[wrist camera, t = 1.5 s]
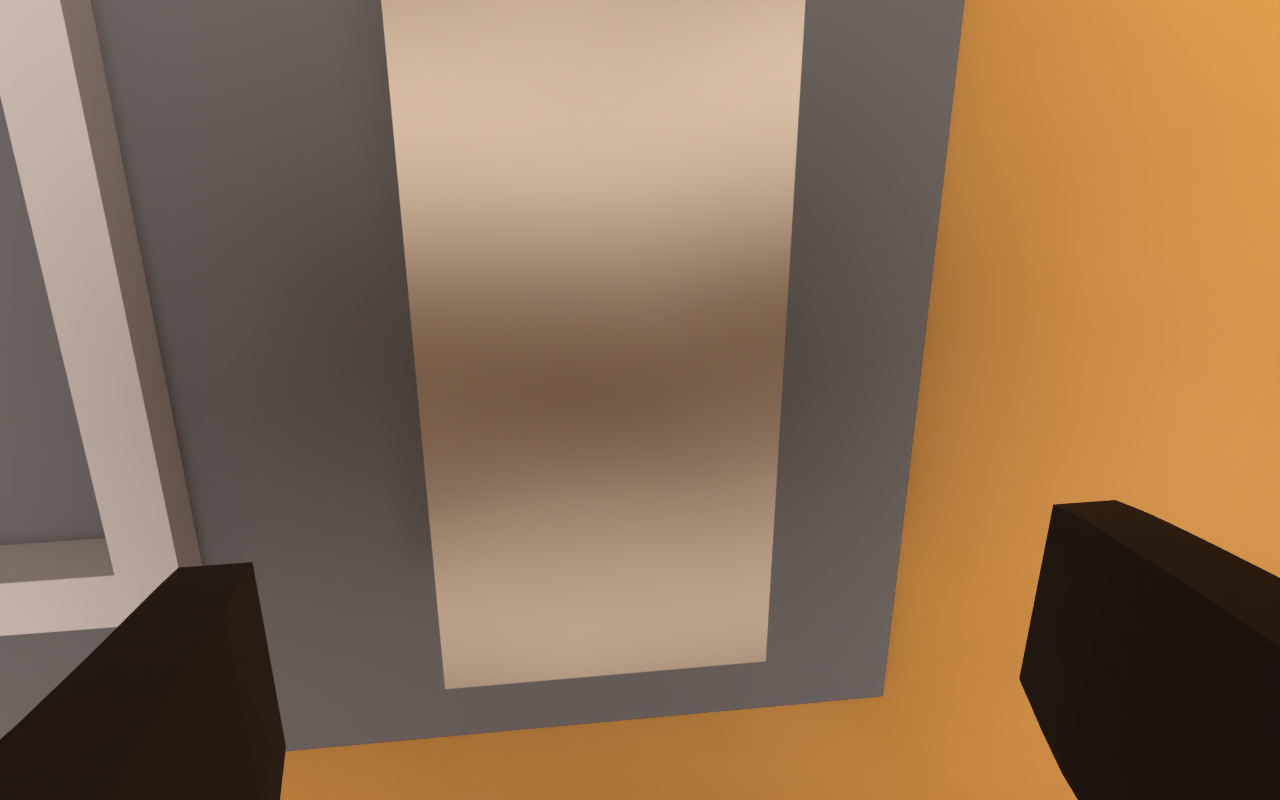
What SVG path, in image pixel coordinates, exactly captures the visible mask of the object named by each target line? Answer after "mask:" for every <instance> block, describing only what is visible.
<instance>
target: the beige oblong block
mask: <svg viewBox="0 0 1280 800" xmlns="http://www.w3.org/2000/svg"><path fill="white" fill-rule="evenodd" d="M805 1H806V0H381V4H382V15H383V26H384V36H385V47H386V58H387V69H388V80H389V90H390V101H391V112H392V123H393V133H394V144H395V155H396V166H397V177H398V187H399V198H400V209H401V220H402V230H403V241H404V252H405V263H406V274H407V284H408V295H409V306H410V317H411V327H412V338H413V349H414V360H415V370H416V381H417V392H418V403H419V414H420V424H421V435H422V446H423V457H424V467H425V478H426V489H427V500H428V511H429V521H430V532H431V543H432V554H433V564H434V575H435V586H436V597H437V608H438V618H439V629H440V640H441V651H442V661H443V672H444V683H445V689H454V688H466V687H477V686H489V685H500V684H511V683H523V682H534V681H546V680H557V679H569V678H580V677H592V676H603V675H615V674H626V673H638V672H649V671H661V670H672V669H684V668H695V667H707V666H718V665H730V664H741V663H753V662H764V661H766V648H767V632H768V615H769V598H770V582H771V565H772V549H773V532H774V515H775V499H776V482H777V466H778V449H779V433H780V416H781V399H782V383H783V366H784V350H785V333H786V316H787V300H788V283H789V267H790V250H791V234H792V217H793V200H794V184H795V167H796V151H797V134H798V117H799V101H800V84H801V68H802V51H803V35H804V18H805Z"/></svg>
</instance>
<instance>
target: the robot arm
mask: <svg viewBox="0 0 1280 800" xmlns="http://www.w3.org/2000/svg"><path fill="white" fill-rule="evenodd" d="M1019 679H1020V681H1021V684H1022V686H1023V688H1024V691H1025V693H1026V695H1027V698H1028V700H1029V702H1030V705H1031V707H1032V709H1033V711H1034V714H1035V716H1036V718H1037V721H1038V723H1039V725H1040V728H1041V730H1042V732H1043V734H1044V736H1045V738H1046V741H1047V743H1048V745H1049V747H1050V749H1051V751H1052V753H1053V755H1054V757H1055V759H1056V761H1057V764H1058V766H1059V768H1060V770H1061V772H1062V774H1063V776H1064V777H1065V779H1066V781H1067V782H1068V784H1069V786H1070V787H1071V789H1072V791H1073V792H1074V794H1075V796H1076V797H1077V799H1078V800H1280V578H1279V577H1277V576H1275V575H1273V574H1271V573H1269V572H1267V571H1265V570H1263V569H1261V568H1259V567H1257V566H1255V565H1253V564H1251V563H1249V562H1247V561H1245V560H1243V559H1241V558H1239V557H1237V556H1235V555H1233V554H1231V553H1229V552H1227V551H1225V550H1223V549H1221V548H1219V547H1217V546H1215V545H1213V544H1211V543H1209V542H1207V541H1205V540H1203V539H1201V538H1199V537H1197V536H1195V535H1193V534H1191V533H1189V532H1187V531H1185V530H1183V529H1181V528H1179V527H1177V526H1174V525H1172V524H1170V523H1168V522H1166V521H1164V520H1162V519H1159V518H1157V517H1155V516H1153V515H1151V514H1148V513H1146V512H1144V511H1141V510H1139V509H1137V508H1134V507H1132V506H1129V505H1126V504H1124V503H1121V502H1119V501H1116V500H1111V501H1097V502H1083V503H1069V504H1055V505H1053V509H1052V514H1051V519H1050V524H1049V530H1048V535H1047V540H1046V545H1045V550H1044V555H1043V560H1042V565H1041V571H1040V576H1039V581H1038V586H1037V591H1036V596H1035V601H1034V606H1033V612H1032V617H1031V622H1030V627H1029V632H1028V637H1027V642H1026V647H1025V652H1024V658H1023V663H1022V668H1021V673H1020V678H1019ZM285 750H286V744H285V738H284V733H283V727H282V722H281V716H280V711H279V705H278V699H277V694H276V688H275V683H274V677H273V672H272V666H271V661H270V655H269V650H268V644H267V639H266V633H265V628H264V622H263V616H262V611H261V605H260V600H259V594H258V589H257V583H256V578H255V572H254V567H253V562H247V563H233V564H219V565H205V566H191V567H178V568H177V569H176V570H175V571H174V572H173V573H172V574H171V575H170V576H169V577H168V578H166V579H165V580H164V581H163V582H162V583H161V584H160V585H159V586H158V587H157V588H156V589H155V590H154V591H153V592H152V593H151V594H150V595H149V596H148V597H147V598H146V599H145V600H144V601H143V602H142V603H141V604H140V605H139V606H138V607H137V608H136V609H135V610H134V611H133V612H132V613H131V614H130V615H129V616H128V617H127V618H126V619H125V620H124V621H123V622H122V623H121V624H120V625H119V626H118V627H117V628H116V629H115V630H114V631H113V632H112V633H111V634H110V635H109V636H108V637H107V638H106V639H105V640H104V641H103V642H102V643H101V644H100V645H99V646H98V647H97V648H96V649H95V650H94V651H93V652H92V653H91V654H90V655H89V656H88V657H87V658H86V659H85V660H84V661H82V662H81V663H80V664H79V665H78V666H77V667H76V668H75V669H74V670H73V671H72V672H71V673H70V674H69V675H68V676H67V677H66V678H65V679H64V680H63V681H62V682H61V683H60V684H59V685H58V686H56V687H55V688H54V689H53V690H52V691H51V692H50V693H49V694H48V695H47V696H46V697H45V698H44V699H43V700H42V701H41V702H40V703H39V704H38V705H37V706H36V707H35V708H34V709H33V710H31V711H30V712H29V713H28V714H27V715H26V716H25V717H24V718H23V719H22V720H21V721H20V722H19V723H18V724H17V725H16V726H15V727H13V728H12V729H11V730H10V731H9V732H8V733H7V734H6V735H4V736H3V737H2V738H1V739H0V800H280V794H281V785H282V776H283V767H284V758H285Z"/></svg>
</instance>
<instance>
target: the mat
mask: <svg viewBox="0 0 1280 800" xmlns="http://www.w3.org/2000/svg"><path fill="white" fill-rule="evenodd" d="M964 1H965V0H806V1H805V18H804V35H803V51H802V68H801V84H800V101H799V117H798V134H797V151H796V167H795V184H794V200H793V217H792V234H791V250H790V267H789V283H788V300H787V316H786V333H785V350H784V366H783V383H782V399H781V416H780V433H779V449H778V466H777V482H776V499H775V515H774V532H773V549H772V565H771V582H770V598H769V615H768V632H767V648H766V661H764V662H753V663H741V664H730V665H718V666H707V667H695V668H684V669H672V670H661V671H649V672H638V673H626V674H615V675H603V676H592V677H580V678H569V679H557V680H546V681H534V682H523V683H511V684H500V685H489V686H477V687H466V688H454V689H445V683H444V672H443V661H442V651H441V640H440V629H439V618H438V608H437V597H436V586H435V575H434V564H433V554H432V543H431V532H430V521H429V511H428V500H427V489H426V478H425V467H424V457H423V446H422V435H421V424H420V414H419V403H418V392H417V381H416V370H415V360H414V349H413V338H412V327H411V317H410V306H409V295H408V284H407V274H406V263H405V252H404V241H403V230H402V220H401V209H400V198H399V187H398V177H397V166H396V155H395V144H394V133H393V123H392V112H391V101H390V90H389V80H388V69H387V58H386V47H385V36H384V26H383V15H382V4H381V0H0V739H1V738H2V737H3V736H4V735H6V734H7V733H8V732H9V731H10V730H11V729H12V728H13V727H15V726H16V725H17V724H18V723H19V722H20V721H21V720H22V719H23V718H24V717H25V716H26V715H27V714H28V713H29V712H30V711H31V710H33V709H34V708H35V707H36V706H37V705H38V704H39V703H40V702H41V701H42V700H43V699H44V698H45V697H46V696H47V695H48V694H49V693H50V692H51V691H52V690H53V689H54V688H55V687H56V686H58V685H59V684H60V683H61V682H62V681H63V680H64V679H65V678H66V677H67V676H68V675H69V674H70V673H71V672H72V671H73V670H74V669H75V668H76V667H77V666H78V665H79V664H80V663H81V662H82V661H84V660H85V659H86V658H87V657H88V656H89V655H90V654H91V653H92V652H93V651H94V650H95V649H96V648H97V647H98V646H99V645H100V644H101V643H102V642H103V641H104V640H105V639H106V638H107V637H108V636H109V635H110V634H111V633H112V632H113V631H114V630H115V629H116V628H117V627H118V626H119V625H120V624H121V623H122V622H123V621H124V620H125V619H126V618H127V617H128V616H129V615H130V614H131V613H132V612H133V611H134V610H135V609H136V608H137V607H138V606H139V605H140V604H141V603H142V602H143V601H144V600H145V599H146V598H147V597H148V596H149V595H150V594H151V593H152V592H153V591H154V590H155V589H156V588H157V587H158V586H159V585H160V584H161V583H162V582H163V581H164V580H165V579H166V578H168V577H169V576H170V575H171V574H172V573H173V572H174V571H175V570H176V569H177V568H178V567H191V566H205V565H219V564H233V563H247V562H253V567H254V572H255V578H256V583H257V589H258V594H259V600H260V605H261V611H262V616H263V622H264V628H265V633H266V639H267V644H268V650H269V655H270V661H271V666H272V672H273V677H274V683H275V688H276V694H277V699H278V705H279V711H280V716H281V722H282V727H283V733H284V738H285V744H286V750H285V751H294V750H305V749H316V748H327V747H338V746H348V745H359V744H370V743H381V742H392V741H403V740H413V739H424V738H435V737H446V736H457V735H468V734H479V733H489V732H500V731H511V730H522V729H533V728H544V727H555V726H565V725H576V724H587V723H598V722H609V721H620V720H631V719H641V718H652V717H663V716H674V715H685V714H696V713H707V712H717V711H728V710H739V709H750V708H761V707H772V706H783V705H793V704H804V703H815V702H826V701H837V700H848V699H858V698H869V697H880V696H883V689H884V681H885V672H886V664H887V655H888V647H889V638H890V630H891V621H892V613H893V604H894V596H895V587H896V579H897V570H898V562H899V553H900V545H901V536H902V528H903V519H904V511H905V502H906V494H907V485H908V477H909V468H910V460H911V451H912V443H913V434H914V426H915V417H916V409H917V400H918V392H919V383H920V375H921V366H922V358H923V349H924V341H925V332H926V324H927V315H928V307H929V298H930V290H931V281H932V273H933V264H934V256H935V247H936V239H937V230H938V222H939V213H940V205H941V196H942V188H943V179H944V171H945V162H946V154H947V145H948V137H949V128H950V120H951V111H952V103H953V94H954V86H955V77H956V69H957V60H958V52H959V43H960V35H961V26H962V18H963V9H964Z"/></svg>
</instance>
